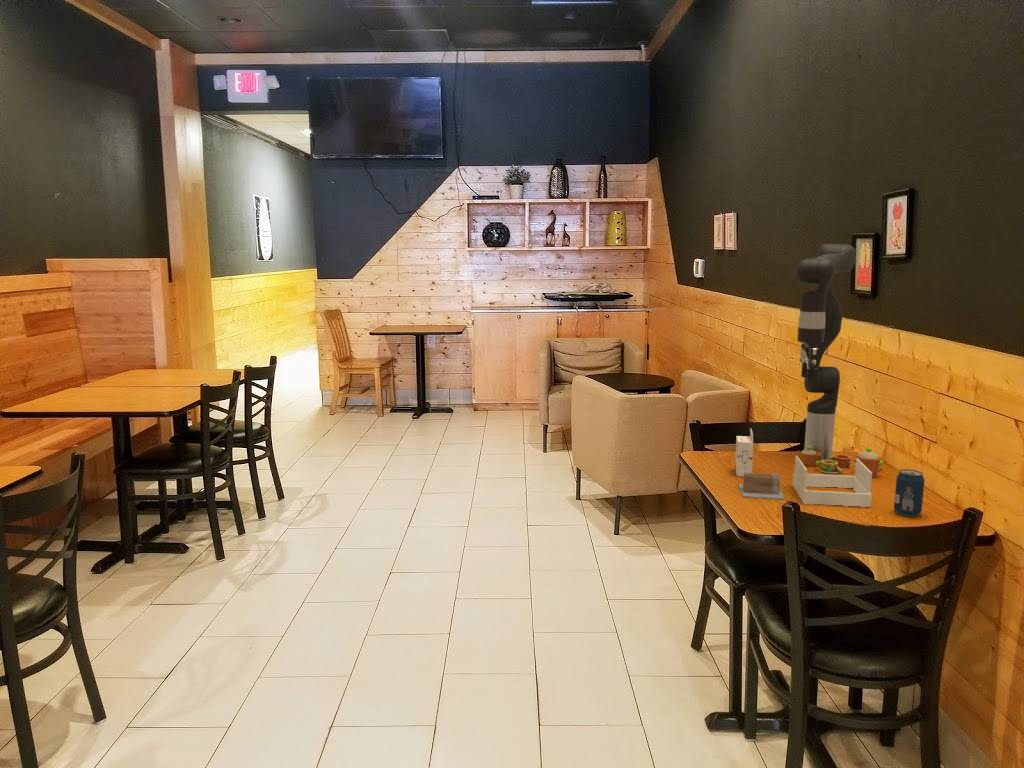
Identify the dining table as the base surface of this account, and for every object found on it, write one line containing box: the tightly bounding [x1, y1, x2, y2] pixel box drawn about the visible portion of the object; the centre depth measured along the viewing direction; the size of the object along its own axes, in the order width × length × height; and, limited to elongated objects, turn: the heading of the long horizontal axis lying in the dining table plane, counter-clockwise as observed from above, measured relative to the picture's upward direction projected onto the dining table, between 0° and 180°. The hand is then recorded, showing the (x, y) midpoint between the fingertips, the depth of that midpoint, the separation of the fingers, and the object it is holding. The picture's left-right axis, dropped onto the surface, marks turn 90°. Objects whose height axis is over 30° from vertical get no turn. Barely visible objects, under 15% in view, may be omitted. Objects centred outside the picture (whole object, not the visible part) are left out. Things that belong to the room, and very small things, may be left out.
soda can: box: [893, 468, 926, 517], centre depth 211 cm, size 7×7×12 cm
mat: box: [737, 483, 786, 500], centre depth 230 cm, size 12×12×1 cm
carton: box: [792, 454, 873, 509], centre depth 226 cm, size 18×18×10 cm
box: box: [742, 472, 781, 494], centre depth 230 cm, size 5×10×5 cm, turn 79°
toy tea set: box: [800, 446, 884, 479], centre depth 253 cm, size 26×16×10 cm, turn 71°
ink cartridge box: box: [734, 427, 754, 477], centre depth 249 cm, size 9×5×15 cm, turn 168°
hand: (807, 379), depth 230 cm, fingers open, 8 cm apart
